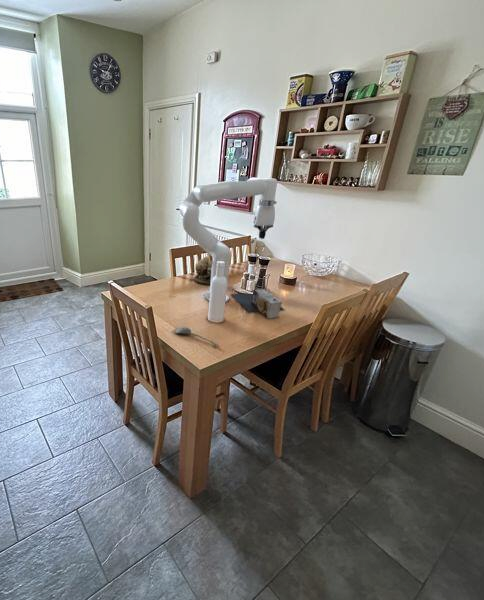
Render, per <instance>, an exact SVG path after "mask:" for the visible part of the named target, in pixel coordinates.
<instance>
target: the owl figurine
mask: <svg viewBox="0 0 484 600" xmlns="http://www.w3.org/2000/svg"><path fill="white" fill-rule="evenodd" d="M212 264H213V260H210V258H209V257H208V256H207V255H206V256H204V257H203V258H200V259H199V260H198V261H197V263H196V264H195V268H194V269H195V273H196V274H197V275H195V276H194V277H193V281H194V282H195V283H198V284H200V285H204V286H210V282H211V269H212Z"/></svg>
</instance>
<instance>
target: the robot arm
mask: <svg viewBox="0 0 484 600" xmlns="http://www.w3.org/2000/svg"><path fill="white" fill-rule="evenodd" d="M277 187H278V179H277V178H270V177H266V178H261V177H250V178H248V179H246V180H242V181H239V180H238V181H237V180H226V181H219V182H213V183H198V184H196V186H195V187H194V188H193V189H192V190H191V192H190V193H189V194H188V195H187V197H186V198H185V199H184V200H183V202H182V203H181V204H180V206H179V214H180V215H181V216H182V227H183V230H184V232H185V233H186V234H187V235H188V236H189V237H190V238H191V239H192V240H193V241H194V242H196V244H197V245H198V246H199V247H200V248H201V249H202V250H204V251H205V252H206V254H209V256H211V257H212V261H213V264H212V269H211V281H212V279H213V277H215V276H216V268H217V262H218V261H224V262H225V266H224V277H225V278H226V280H227V284H228V281H229V271H230V266H231V262H232V251H231V249H230V247H229V246H228V245H226V244H224V243H223V242H222V241H221V240H220V239H219V238H217V236H216V235H214V233H213V232H212V231H210V230H209V229H207V228H206V227H205V226H204V225H203V224H202V223H201V222H200V220H199V219H200V218H199V217H200V209H199V208H200V206H201V205H202V204H203V203H209V202H210V203H211V202H215V201H223V200H229V199H239V198H248V197H254V196H259V200H258V205H256V209H255V211H254V215H253V226H252V227H253V228H255V229H257V230H258V238H259V239H261V240H264V239H265V237H266V233H267V232H268V230H269V229H271V228H273V227H274V224H275V219H276V218H275V217H276V206H275V205H277V200H275V199H276V193H277ZM210 287H211V282H210V285H209V288H210ZM227 292H228V290H227V291H226V301H225V303H228V301H229V298H230V297H229V296H228V295H227ZM200 295H201V297H204V298H206V300H208V301H209V300H210V289H209V290H207V291H206V292H205V291H204V292H201V294H200Z"/></svg>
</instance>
